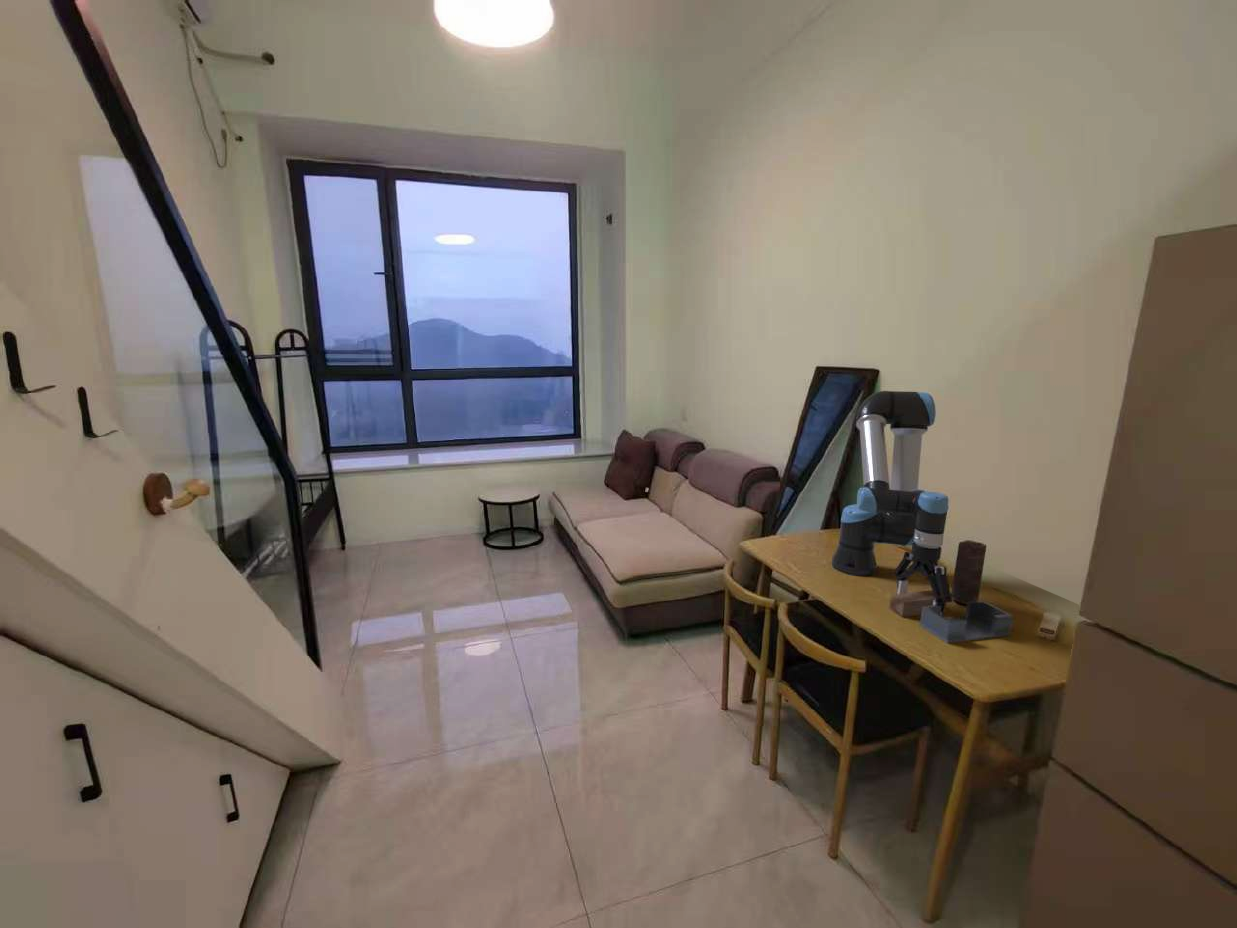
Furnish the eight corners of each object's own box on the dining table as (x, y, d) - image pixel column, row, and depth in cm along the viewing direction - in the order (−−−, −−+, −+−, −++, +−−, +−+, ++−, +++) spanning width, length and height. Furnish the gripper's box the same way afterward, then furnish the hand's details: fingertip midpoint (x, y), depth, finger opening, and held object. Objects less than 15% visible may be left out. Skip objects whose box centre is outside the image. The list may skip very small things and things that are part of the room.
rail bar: (889, 610, 162) (891, 594, 161) (931, 604, 167) (933, 589, 166) (901, 617, 158) (904, 602, 157) (944, 612, 162) (947, 596, 161)
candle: (963, 608, 164) (974, 547, 160) (943, 598, 171) (953, 539, 166) (983, 606, 166) (993, 545, 162) (962, 595, 173) (972, 537, 169)
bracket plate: (919, 624, 153) (921, 605, 152) (979, 618, 158) (982, 599, 156) (947, 643, 143) (950, 622, 142) (1010, 635, 148) (1013, 616, 147)
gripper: (886, 531, 169) (878, 593, 173) (951, 560, 145) (940, 631, 149) (906, 530, 170) (898, 591, 174) (973, 558, 146) (962, 629, 151)
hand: (917, 610), depth 162 cm, fingers open, 13 cm apart
